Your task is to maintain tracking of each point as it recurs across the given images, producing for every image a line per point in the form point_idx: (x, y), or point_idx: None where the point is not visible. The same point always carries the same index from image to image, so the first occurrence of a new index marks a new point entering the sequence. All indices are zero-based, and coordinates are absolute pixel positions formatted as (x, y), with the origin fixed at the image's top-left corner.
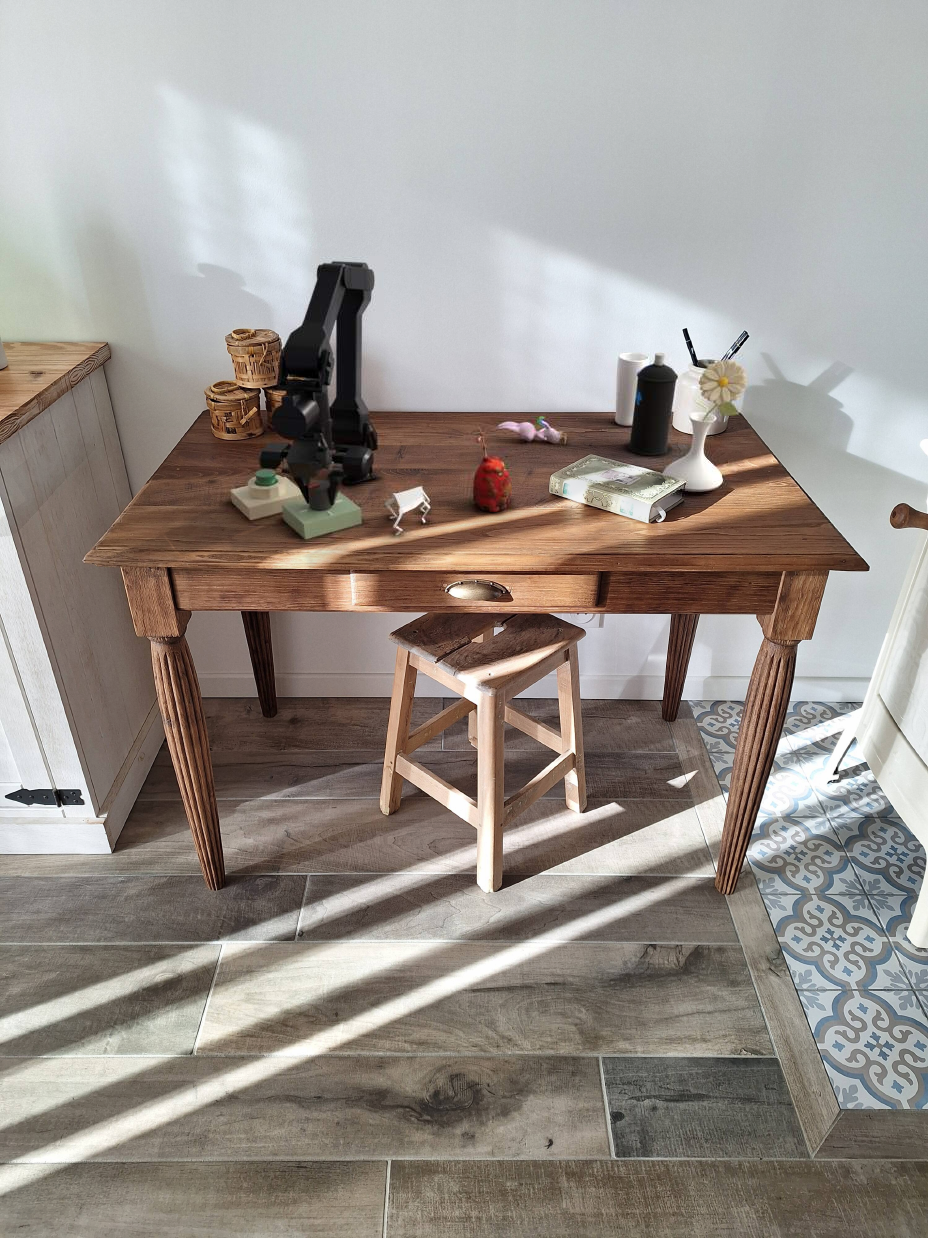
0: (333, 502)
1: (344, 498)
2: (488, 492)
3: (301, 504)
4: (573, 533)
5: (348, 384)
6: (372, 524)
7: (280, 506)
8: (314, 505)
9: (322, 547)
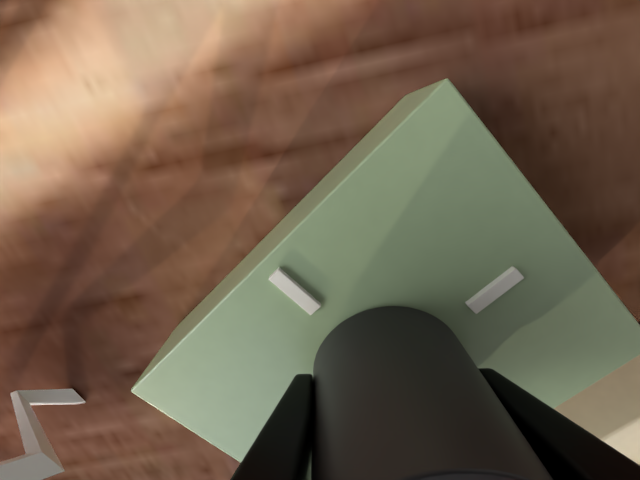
0: (287, 389)
1: None
2: None
3: (522, 369)
4: None
5: None
6: (124, 329)
7: (618, 377)
8: (424, 331)
9: (271, 10)
